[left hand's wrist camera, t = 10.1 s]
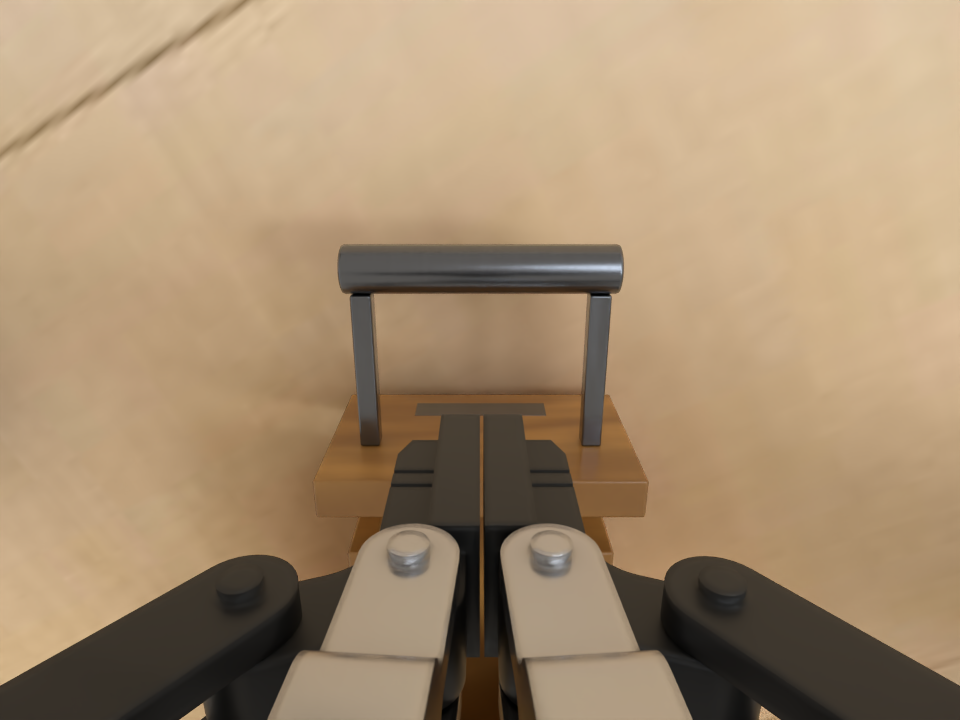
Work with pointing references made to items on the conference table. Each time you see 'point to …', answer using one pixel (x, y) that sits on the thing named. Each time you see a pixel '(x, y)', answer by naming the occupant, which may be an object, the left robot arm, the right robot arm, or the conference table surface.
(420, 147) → the conference table surface
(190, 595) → the left robot arm
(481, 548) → the drawer
